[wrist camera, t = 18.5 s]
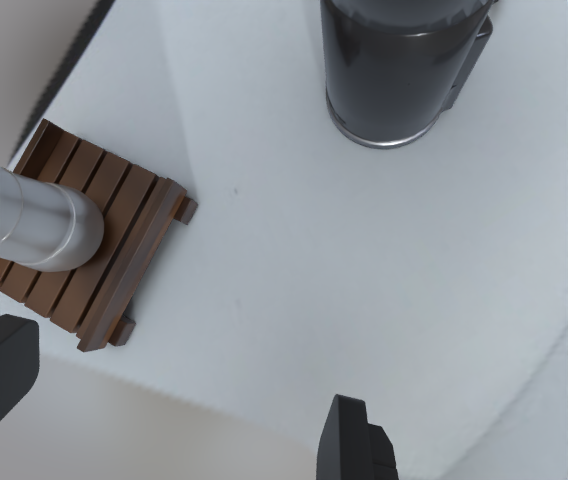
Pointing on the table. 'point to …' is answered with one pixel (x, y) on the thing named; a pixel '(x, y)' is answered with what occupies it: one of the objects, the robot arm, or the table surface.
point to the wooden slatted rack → (115, 244)
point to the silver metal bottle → (47, 224)
